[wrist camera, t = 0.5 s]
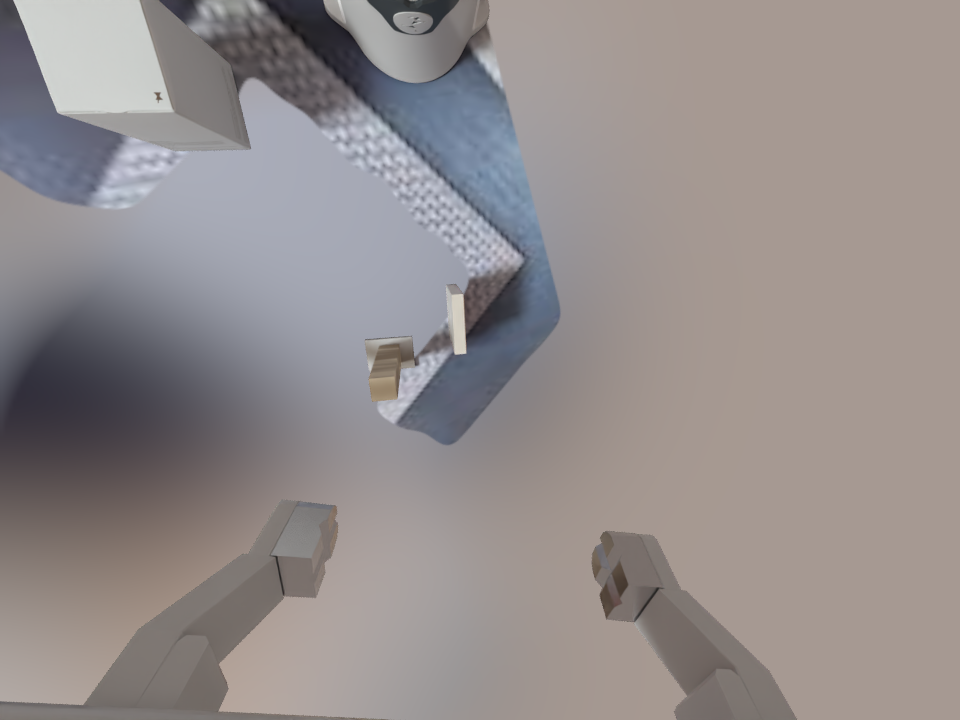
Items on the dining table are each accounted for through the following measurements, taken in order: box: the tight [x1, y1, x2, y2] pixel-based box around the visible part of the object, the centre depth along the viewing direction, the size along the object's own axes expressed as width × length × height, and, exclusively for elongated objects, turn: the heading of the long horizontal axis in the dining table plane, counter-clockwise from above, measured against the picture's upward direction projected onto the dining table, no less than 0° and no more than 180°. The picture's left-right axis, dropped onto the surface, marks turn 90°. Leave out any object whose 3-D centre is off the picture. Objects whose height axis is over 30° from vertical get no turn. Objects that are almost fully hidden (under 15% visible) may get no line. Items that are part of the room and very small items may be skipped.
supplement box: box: [14, 0, 251, 151], centre depth 35 cm, size 9×9×15 cm
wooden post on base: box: [365, 336, 415, 402], centre depth 49 cm, size 5×7×14 cm
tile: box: [446, 284, 466, 355], centre depth 51 cm, size 8×2×9 cm, turn 2°
